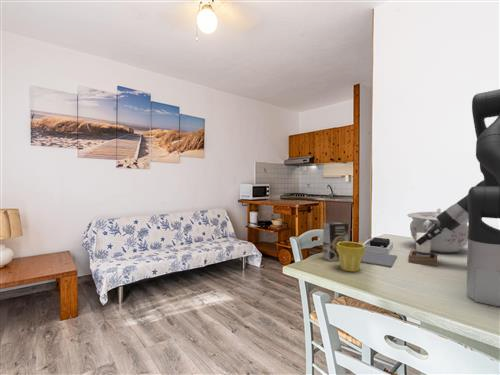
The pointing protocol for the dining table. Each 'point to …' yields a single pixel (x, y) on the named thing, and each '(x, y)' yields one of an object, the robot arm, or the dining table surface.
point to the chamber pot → (444, 240)
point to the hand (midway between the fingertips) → (418, 242)
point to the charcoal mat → (378, 259)
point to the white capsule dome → (423, 247)
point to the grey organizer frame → (377, 249)
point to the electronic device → (380, 242)
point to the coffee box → (333, 239)
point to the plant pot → (350, 255)
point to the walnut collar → (423, 259)
